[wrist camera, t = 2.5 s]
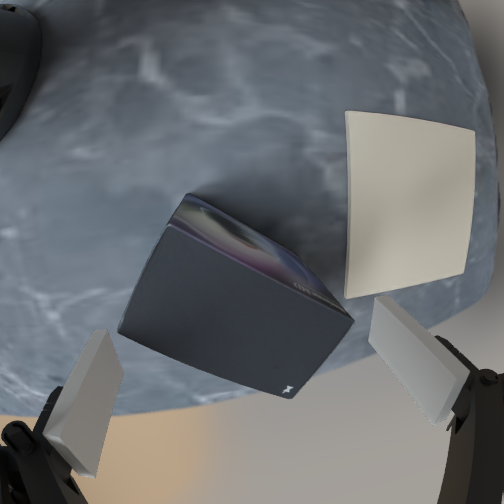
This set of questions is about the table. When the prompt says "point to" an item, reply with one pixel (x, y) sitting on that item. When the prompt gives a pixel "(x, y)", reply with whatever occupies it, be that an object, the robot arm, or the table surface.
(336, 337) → the small box
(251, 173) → the table surface
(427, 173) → the mat
